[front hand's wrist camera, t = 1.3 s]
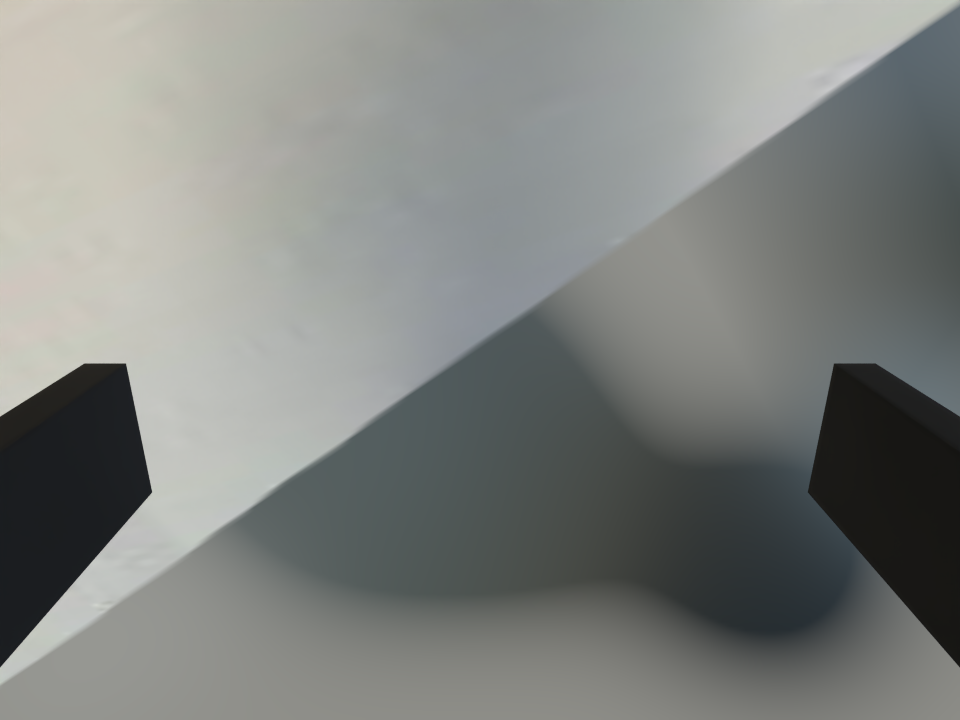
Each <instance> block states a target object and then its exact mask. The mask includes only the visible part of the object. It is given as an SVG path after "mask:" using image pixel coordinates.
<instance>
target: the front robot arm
mask: <svg viewBox="0 0 960 720" xmlns="http://www.w3.org/2000/svg"><path fill="white" fill-rule="evenodd" d="M151 493H152V489H151V484H150V480H149V475H148V470H147V465H146V460H145V455H144V450H143V445H142V440H141V435H140V430H139V426H138V421H137V416H136V411H135V406H134V401H133V396H132V391H131V386H130V381H129V376H128V372H127V367H126V364H83V365H82V366H80V367H78V368H77V369H75V370H74V371H72V372H70V373H69V374H67V375H66V376H64V377H62V378H61V379H59V380H58V381H56V382H55V383H53V384H51V385H50V386H48V387H47V388H45V389H43V390H42V391H40V392H39V393H37V394H35V395H34V396H32V397H31V398H29V399H28V400H26V401H24V402H23V403H21V404H20V405H18V406H16V407H15V408H13V409H12V410H10V411H8V412H7V413H5V414H4V415H2V416H1V417H0V667H1V666H2V665H3V663H4V662H5V661H6V660H7V659H8V658H9V657H10V655H11V654H12V653H13V652H14V651H15V650H16V648H17V647H18V646H19V645H20V644H21V643H22V642H23V640H24V639H25V638H26V637H27V636H28V635H29V634H30V632H31V631H32V630H33V629H34V628H35V627H36V625H37V624H38V623H39V622H40V621H41V620H42V619H43V617H44V616H45V615H46V614H47V613H48V612H49V610H50V609H51V608H52V607H53V606H54V605H55V604H56V602H57V601H58V600H59V599H60V598H61V597H62V596H63V594H64V593H65V592H66V591H67V590H68V589H69V587H70V586H71V585H72V584H73V583H74V582H75V581H76V579H77V578H78V577H79V576H80V575H81V574H82V572H83V571H84V570H85V569H86V568H87V567H88V566H89V564H90V563H91V562H92V561H93V560H94V559H95V557H96V556H97V555H98V554H99V553H100V552H101V551H102V549H103V548H104V547H105V546H106V545H107V544H108V543H109V541H110V540H111V539H112V538H113V537H114V536H115V534H116V533H117V532H118V531H119V530H120V529H121V528H122V526H123V525H124V524H125V523H126V522H127V521H128V519H129V518H130V517H131V516H132V515H133V514H134V513H135V511H136V510H137V509H138V508H139V507H140V506H141V505H142V503H143V502H144V501H145V500H146V499H147V498H148V496H149V495H150V494H151ZM808 493H809V494H810V495H811V496H812V498H813V499H814V500H815V501H816V502H817V503H818V505H819V506H820V507H821V508H822V509H823V510H824V511H825V513H826V514H827V515H828V516H829V517H830V518H831V519H832V521H833V522H834V523H835V524H836V525H837V526H838V528H839V529H840V530H841V531H842V532H843V533H844V534H845V536H846V537H847V538H848V539H849V540H850V541H851V543H852V544H853V545H854V546H855V547H856V548H857V549H858V551H859V552H860V553H861V554H862V555H863V556H864V557H865V559H866V560H867V561H868V562H869V563H870V564H871V566H872V567H873V568H874V569H875V570H876V571H877V572H878V574H879V575H880V576H881V577H882V578H883V579H884V580H885V582H886V583H887V584H888V585H889V586H890V587H891V589H892V590H893V591H894V592H895V593H896V594H897V595H898V597H899V598H900V599H901V600H902V601H903V602H904V604H905V605H906V606H907V607H908V608H909V609H910V610H911V612H912V613H913V614H914V615H915V616H916V617H917V619H918V620H919V621H920V622H921V623H922V624H923V625H924V627H925V628H926V629H927V630H928V631H929V632H930V634H931V635H932V636H933V637H934V638H935V639H936V640H937V642H938V643H939V644H940V645H941V646H942V647H943V648H944V650H945V651H946V652H947V653H948V654H949V655H950V657H951V658H952V659H953V660H954V661H955V662H956V663H957V665H958V666H959V667H960V417H959V416H958V415H956V414H955V413H953V412H952V411H950V410H948V409H947V408H945V407H944V406H942V405H940V404H939V403H937V402H936V401H934V400H932V399H931V398H929V397H928V396H926V395H924V394H923V393H921V392H920V391H918V390H917V389H915V388H913V387H912V386H910V385H909V384H907V383H905V382H904V381H902V380H901V379H899V378H897V377H896V376H894V375H893V374H891V373H890V372H888V371H886V370H885V369H883V368H882V367H880V366H878V365H877V364H834V367H833V372H832V376H831V381H830V387H829V391H828V396H827V401H826V406H825V411H824V416H823V421H822V426H821V430H820V435H819V440H818V445H817V450H816V455H815V460H814V465H813V470H812V475H811V480H810V484H809V489H808Z"/></svg>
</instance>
